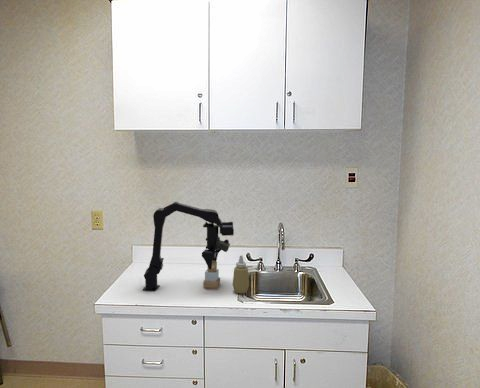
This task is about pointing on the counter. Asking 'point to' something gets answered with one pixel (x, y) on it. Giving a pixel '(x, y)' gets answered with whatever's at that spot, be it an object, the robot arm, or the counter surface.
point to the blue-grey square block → (211, 275)
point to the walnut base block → (211, 284)
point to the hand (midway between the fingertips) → (212, 266)
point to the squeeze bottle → (240, 277)
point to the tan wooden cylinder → (213, 267)
